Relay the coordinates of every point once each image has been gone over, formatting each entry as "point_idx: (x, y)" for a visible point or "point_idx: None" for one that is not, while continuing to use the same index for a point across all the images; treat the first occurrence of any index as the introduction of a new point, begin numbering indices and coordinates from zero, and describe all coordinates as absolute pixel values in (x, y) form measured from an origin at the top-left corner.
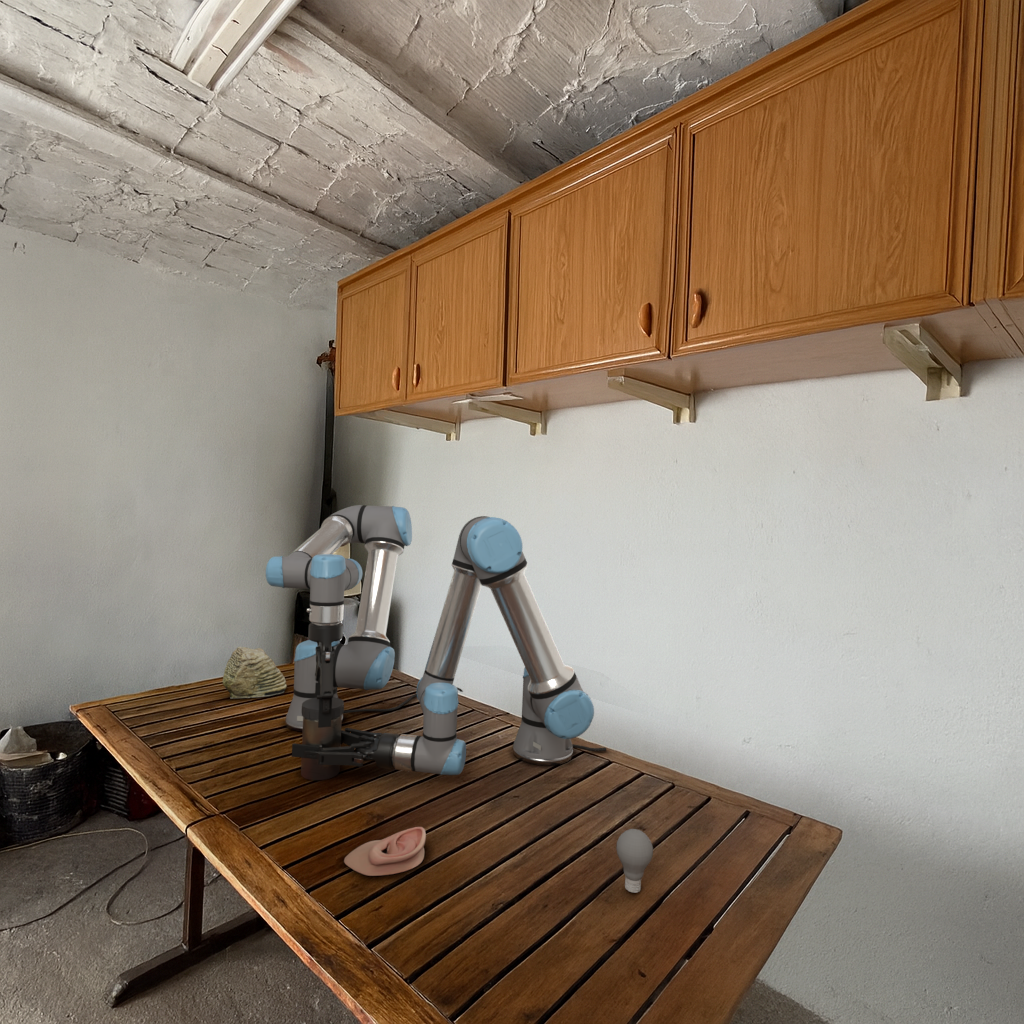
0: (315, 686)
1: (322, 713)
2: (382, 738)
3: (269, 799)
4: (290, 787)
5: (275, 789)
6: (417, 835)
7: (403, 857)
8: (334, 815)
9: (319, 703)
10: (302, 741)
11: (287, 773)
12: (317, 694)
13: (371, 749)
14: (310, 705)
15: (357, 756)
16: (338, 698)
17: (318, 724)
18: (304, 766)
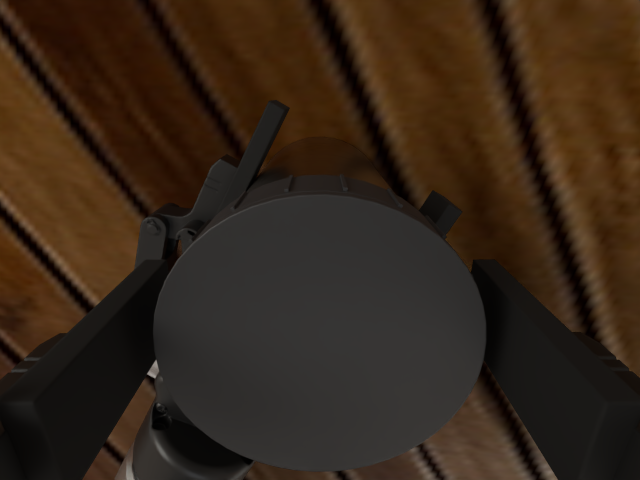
0: (594, 372)
1: (59, 334)
2: (162, 465)
3: (136, 15)
4: (221, 95)
5: (214, 39)
6: None
7: None
8: (16, 217)
9: (36, 364)
10: (311, 155)
11: (342, 88)
12: (527, 338)
13: (171, 401)
14: (277, 262)
15: None
16: (400, 452)
17: (136, 268)
18: (284, 151)
